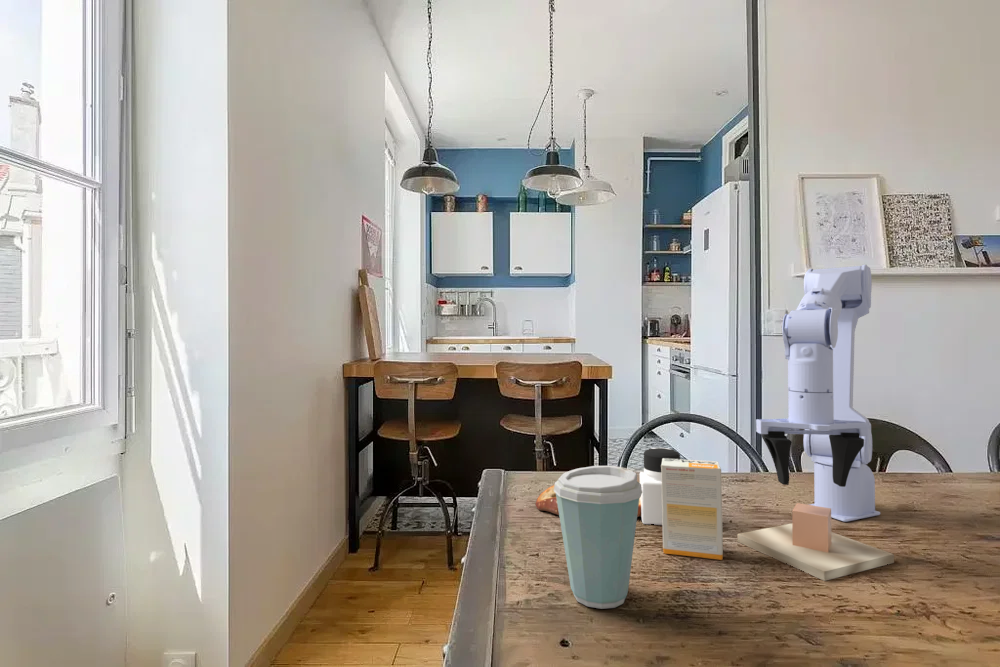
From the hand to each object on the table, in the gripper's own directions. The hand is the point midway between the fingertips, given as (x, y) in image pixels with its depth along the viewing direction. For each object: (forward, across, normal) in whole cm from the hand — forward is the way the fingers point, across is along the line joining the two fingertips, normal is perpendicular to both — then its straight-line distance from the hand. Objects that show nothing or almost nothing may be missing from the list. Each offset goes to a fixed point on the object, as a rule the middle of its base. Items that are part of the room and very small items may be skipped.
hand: (811, 483), depth 76 cm
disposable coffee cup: (+10, -32, -17) cm, 37 cm away
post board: (+10, 0, 0) cm, 10 cm away
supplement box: (+10, -17, -2) cm, 20 cm away
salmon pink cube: (+9, 0, 0) cm, 9 cm away
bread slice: (+10, -31, +16) cm, 36 cm away
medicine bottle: (+10, -19, +12) cm, 25 cm away
